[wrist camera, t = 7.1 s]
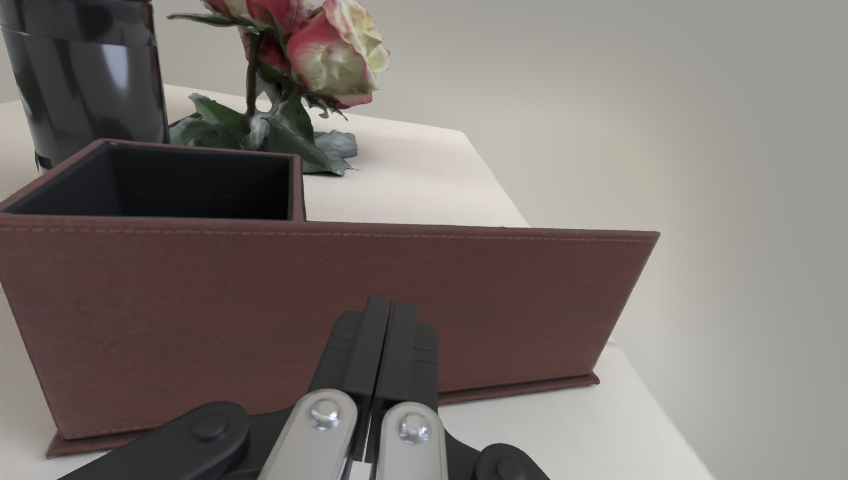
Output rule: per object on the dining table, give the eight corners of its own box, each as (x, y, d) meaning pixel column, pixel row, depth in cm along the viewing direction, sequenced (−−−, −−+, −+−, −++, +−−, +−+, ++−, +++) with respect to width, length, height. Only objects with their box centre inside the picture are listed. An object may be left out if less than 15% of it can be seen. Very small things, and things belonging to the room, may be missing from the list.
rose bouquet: (378, 184, 53) (411, -94, 40) (141, 155, 48) (87, -174, 35) (377, 138, 76) (398, -49, 62) (215, 115, 71) (200, -94, 57)
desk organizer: (128, 307, 25) (90, 132, 20) (522, 293, 35) (563, 172, 30) (41, 464, 16) (-64, 223, 11) (599, 387, 26) (677, 238, 21)
